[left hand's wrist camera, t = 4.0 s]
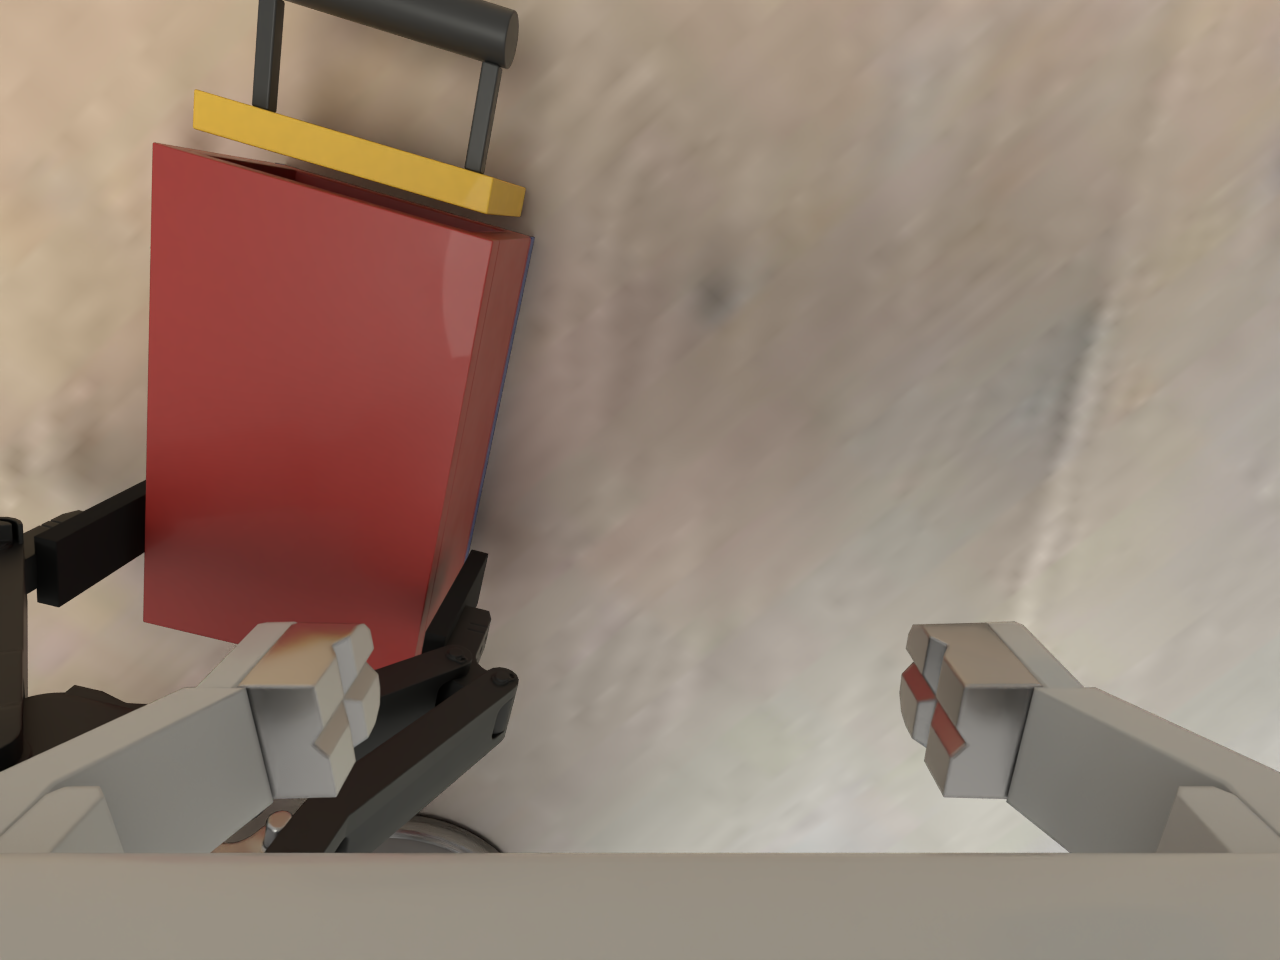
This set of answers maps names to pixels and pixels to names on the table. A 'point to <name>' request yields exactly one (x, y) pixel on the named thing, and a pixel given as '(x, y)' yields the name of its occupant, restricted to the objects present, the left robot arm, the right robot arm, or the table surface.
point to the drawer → (412, 8)
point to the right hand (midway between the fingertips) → (326, 539)
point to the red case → (316, 398)
